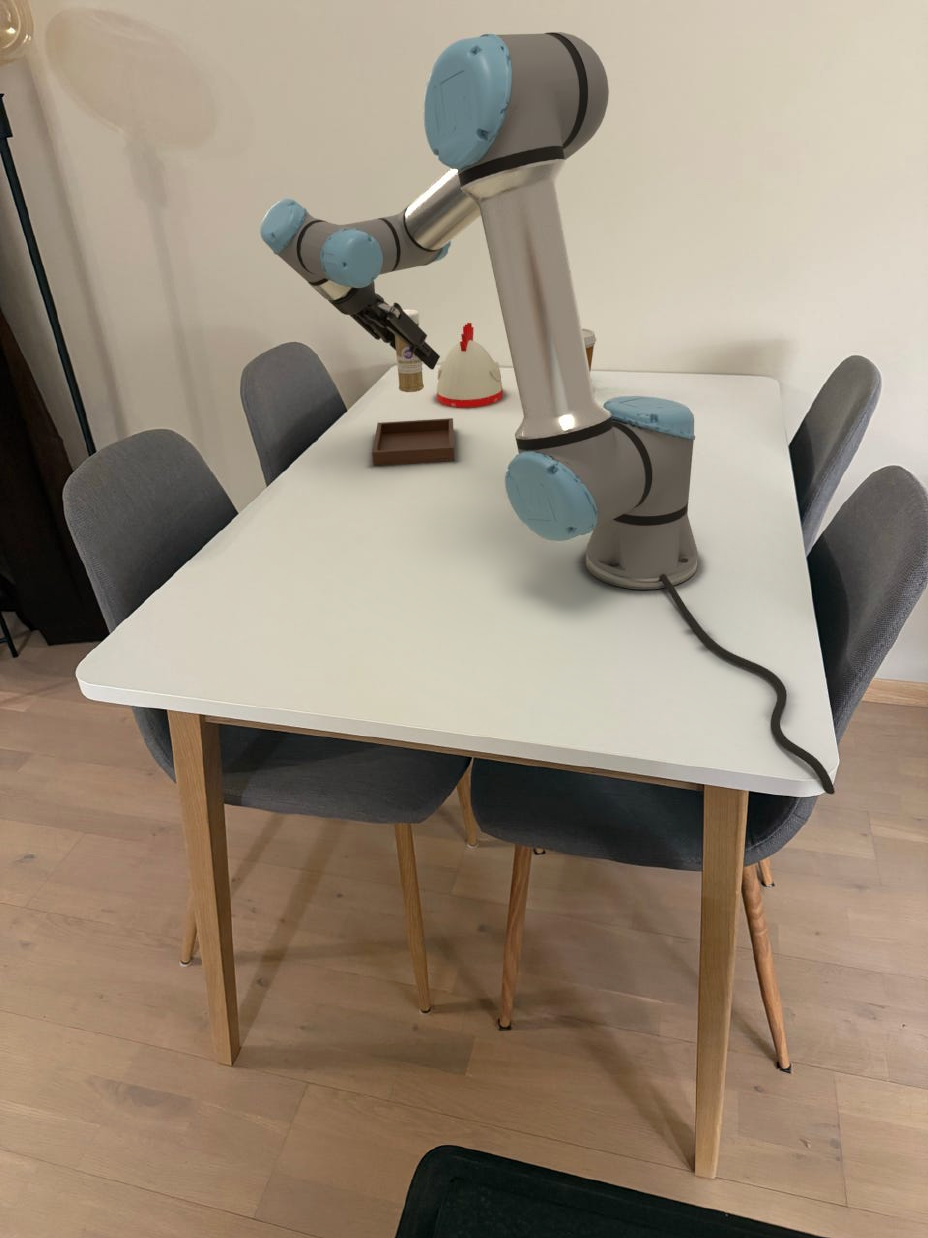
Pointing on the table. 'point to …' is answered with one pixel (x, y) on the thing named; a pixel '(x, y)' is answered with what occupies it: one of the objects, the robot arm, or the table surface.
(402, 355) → the sprinkles bottle
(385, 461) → the wooden tray
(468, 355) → the kitchen timer
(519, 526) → the table surface
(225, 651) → the table surface
